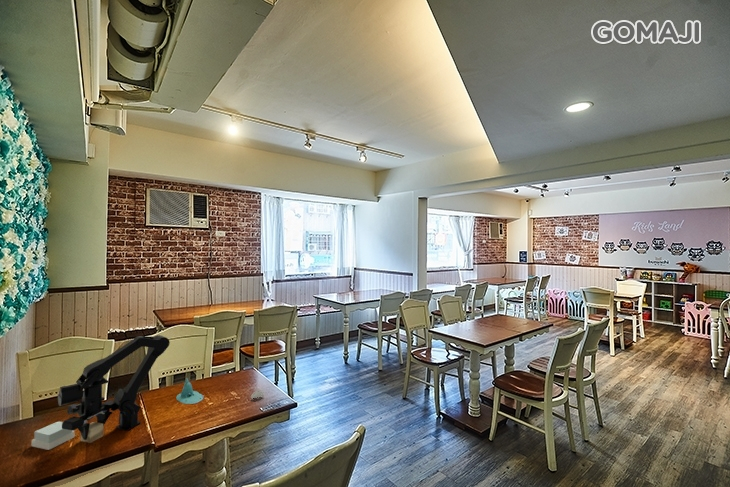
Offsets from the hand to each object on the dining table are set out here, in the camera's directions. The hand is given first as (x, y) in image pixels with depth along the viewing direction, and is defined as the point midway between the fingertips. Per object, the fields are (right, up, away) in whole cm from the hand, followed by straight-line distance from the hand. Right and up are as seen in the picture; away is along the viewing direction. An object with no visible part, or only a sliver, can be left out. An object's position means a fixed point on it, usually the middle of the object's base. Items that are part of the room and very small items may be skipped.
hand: (92, 435), depth 135 cm
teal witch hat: (+20, -2, +38) cm, 43 cm away
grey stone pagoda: (-16, -1, +16) cm, 22 cm away
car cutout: (+51, -3, +36) cm, 62 cm away
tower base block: (-13, -2, -2) cm, 13 cm away
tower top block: (-13, +1, -3) cm, 13 cm away
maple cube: (0, -1, 0) cm, 1 cm away
